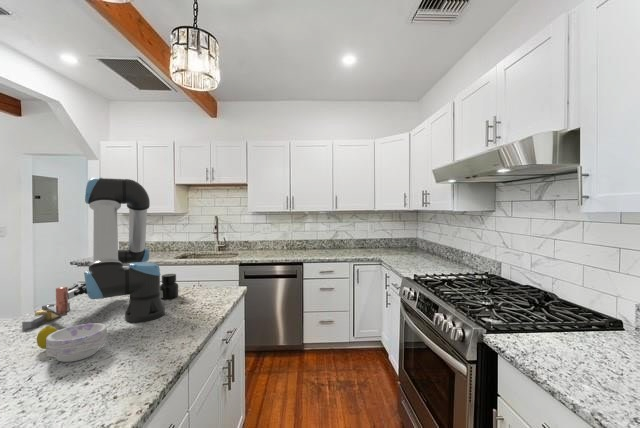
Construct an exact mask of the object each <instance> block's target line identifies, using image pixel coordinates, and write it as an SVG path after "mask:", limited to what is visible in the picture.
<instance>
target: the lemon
mask: <svg viewBox="0 0 640 428" xmlns="http://www.w3.org/2000/svg"><path fill="white" fill-rule="evenodd" d="M58 330H59V329H57V328H56V327H55V326H50V325H47V326H45V327H44V328H42V329H41V330H39V332H38V334H37V335H36V344H37V346H38V347H39V348H40V349H43V350H46V338H47V336H49V335H50V334H51V333H53V332H56V331H58Z"/></svg>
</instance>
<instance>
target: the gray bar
mask: <svg viewBox="0 0 640 428" xmlns="http://www.w3.org/2000/svg"><path fill="white" fill-rule="evenodd" d="M70 305H71V302H68V309H69V310H70V309H71V306H70ZM54 307H56V305H54ZM58 317H59V318H60V316H58V315H56V314H54V313H52V312H50V311H48V310H42V309H40V310H37V311H35V312H34V316H32V317H30V318H28V319H25V320H24V321H22V322H21V324H22V325H21V326H22V327H21V329H22V330H23V331H24V330H33V329H34V328H36V327H38V326H40V325H42V324H44V323H46V322H50V321H53V320H55V319H57V318H58Z"/></svg>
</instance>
